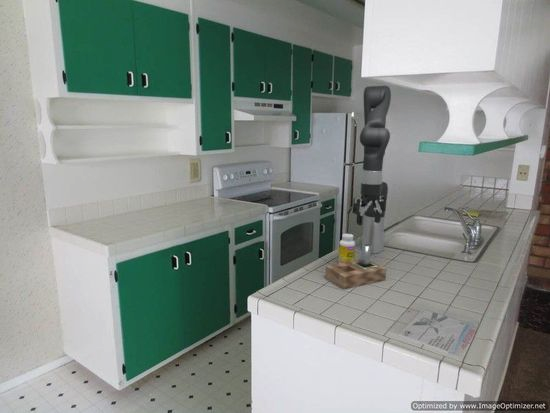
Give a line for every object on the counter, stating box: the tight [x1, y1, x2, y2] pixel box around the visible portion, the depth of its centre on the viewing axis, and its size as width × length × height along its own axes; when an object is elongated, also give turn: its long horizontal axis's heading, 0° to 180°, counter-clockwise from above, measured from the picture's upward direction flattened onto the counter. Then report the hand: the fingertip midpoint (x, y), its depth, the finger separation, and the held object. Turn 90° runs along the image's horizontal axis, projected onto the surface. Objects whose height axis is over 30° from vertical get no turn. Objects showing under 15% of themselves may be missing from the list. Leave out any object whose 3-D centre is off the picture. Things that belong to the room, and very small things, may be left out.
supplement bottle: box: [337, 233, 356, 264], centre depth 169 cm, size 7×7×13 cm
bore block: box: [324, 258, 387, 290], centre depth 154 cm, size 20×12×5 cm, turn 117°
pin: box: [360, 244, 372, 268], centre depth 155 cm, size 4×4×12 cm
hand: (368, 223), depth 152 cm, fingers open, 8 cm apart
